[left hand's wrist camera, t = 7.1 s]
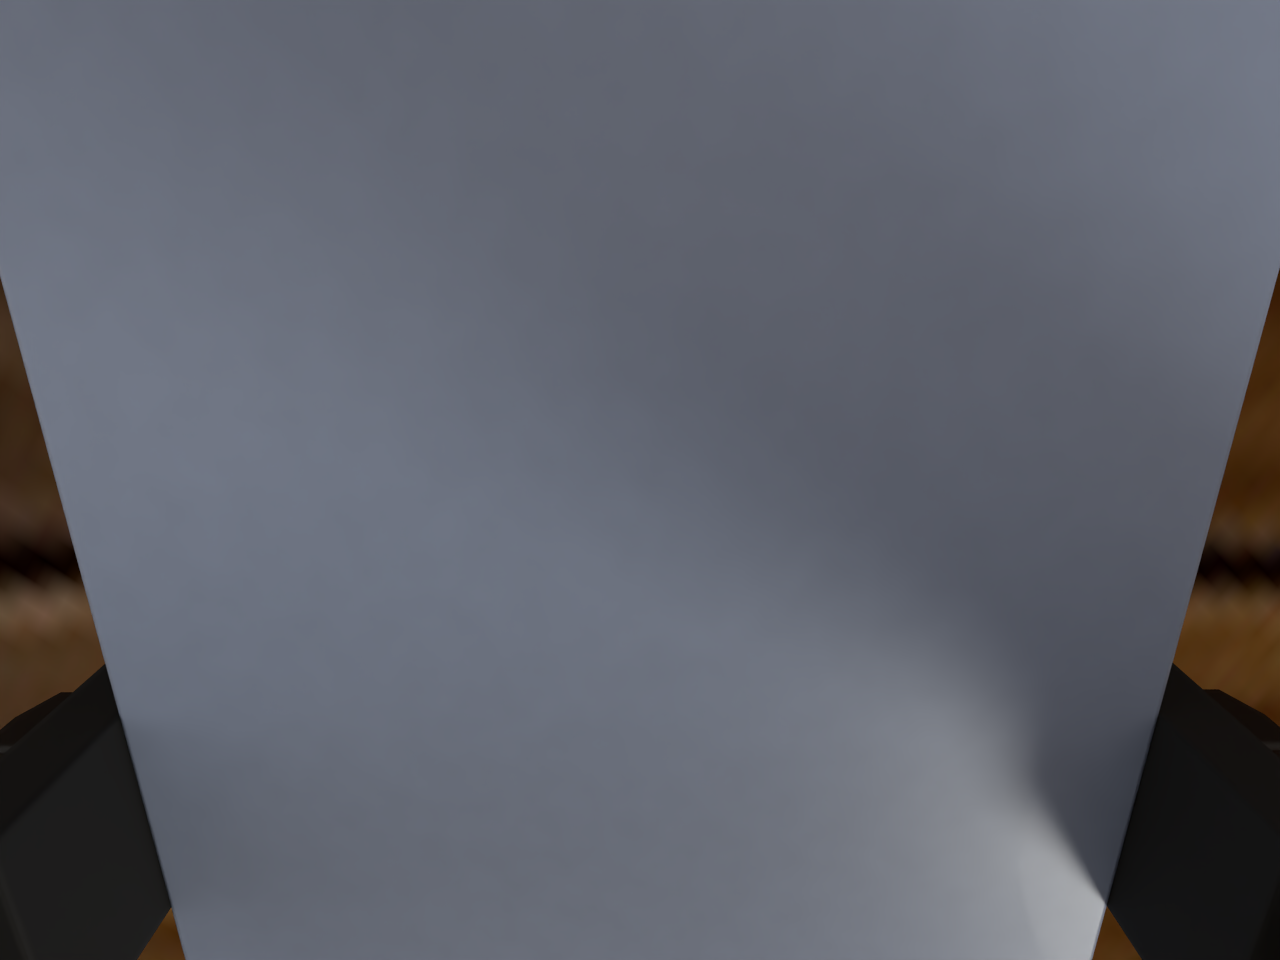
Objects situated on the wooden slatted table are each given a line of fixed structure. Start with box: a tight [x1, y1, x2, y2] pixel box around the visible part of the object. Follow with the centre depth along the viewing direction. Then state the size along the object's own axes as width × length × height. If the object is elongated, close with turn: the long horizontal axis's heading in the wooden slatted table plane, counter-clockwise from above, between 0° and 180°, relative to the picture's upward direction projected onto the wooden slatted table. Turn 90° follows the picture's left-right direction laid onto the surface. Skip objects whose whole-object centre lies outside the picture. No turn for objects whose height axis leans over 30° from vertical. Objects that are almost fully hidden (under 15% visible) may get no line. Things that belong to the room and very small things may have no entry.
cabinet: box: [0, 0, 1280, 960], centre depth 10 cm, size 21×11×9 cm, turn 0°
